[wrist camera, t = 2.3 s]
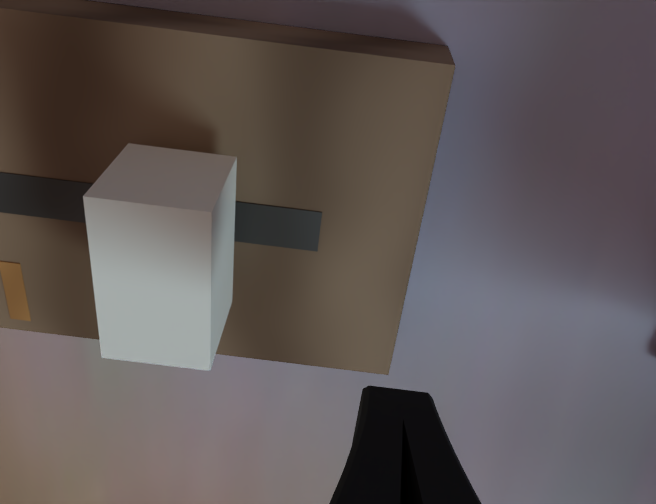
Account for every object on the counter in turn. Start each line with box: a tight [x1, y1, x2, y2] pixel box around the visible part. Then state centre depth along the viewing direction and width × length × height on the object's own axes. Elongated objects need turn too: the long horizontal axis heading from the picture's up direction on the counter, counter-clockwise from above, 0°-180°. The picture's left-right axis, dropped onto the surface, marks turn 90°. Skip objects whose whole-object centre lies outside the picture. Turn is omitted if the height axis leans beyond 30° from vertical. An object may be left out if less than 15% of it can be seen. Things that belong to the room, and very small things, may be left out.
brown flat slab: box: [0, 0, 455, 375], centre depth 20 cm, size 20×11×2 cm, turn 84°
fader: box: [83, 143, 237, 371], centre depth 17 cm, size 3×5×4 cm, turn 174°
